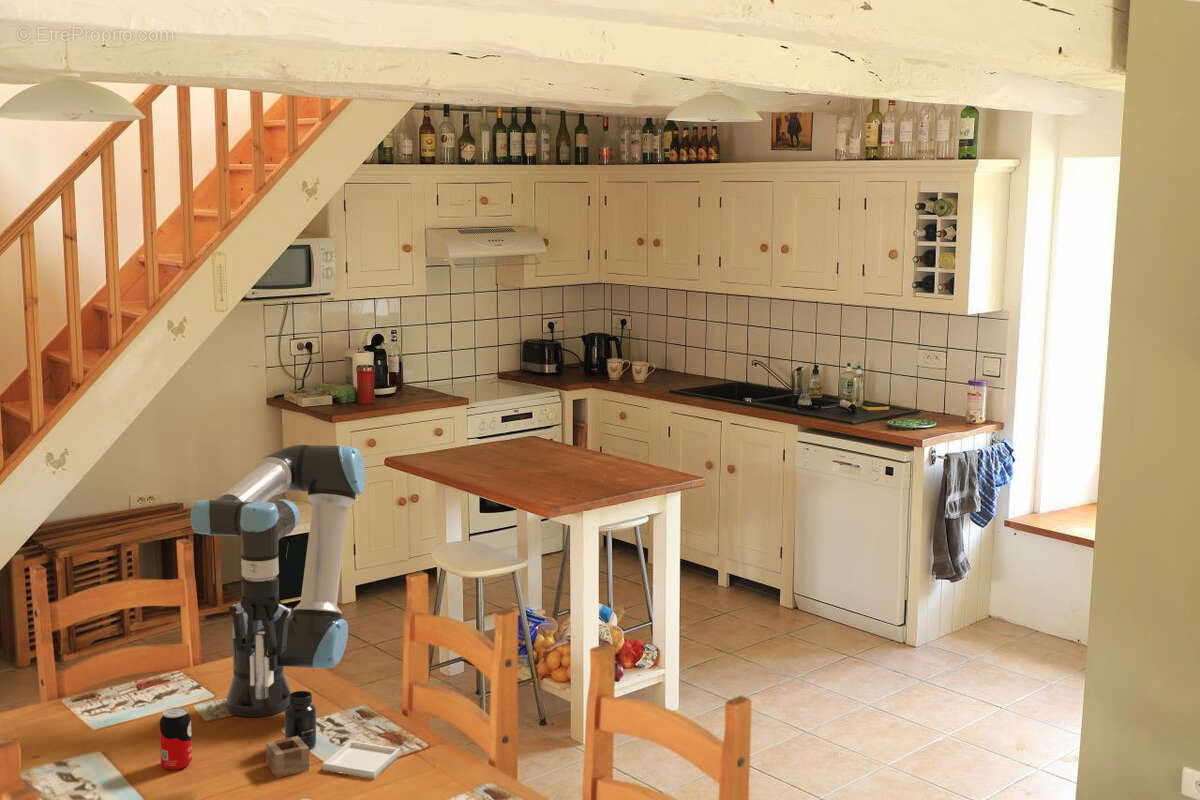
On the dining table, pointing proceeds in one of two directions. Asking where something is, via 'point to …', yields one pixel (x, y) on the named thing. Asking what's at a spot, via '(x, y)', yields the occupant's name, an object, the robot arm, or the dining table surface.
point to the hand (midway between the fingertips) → (262, 683)
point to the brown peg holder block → (287, 756)
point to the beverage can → (175, 738)
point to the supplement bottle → (301, 718)
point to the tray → (362, 759)
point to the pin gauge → (260, 665)
